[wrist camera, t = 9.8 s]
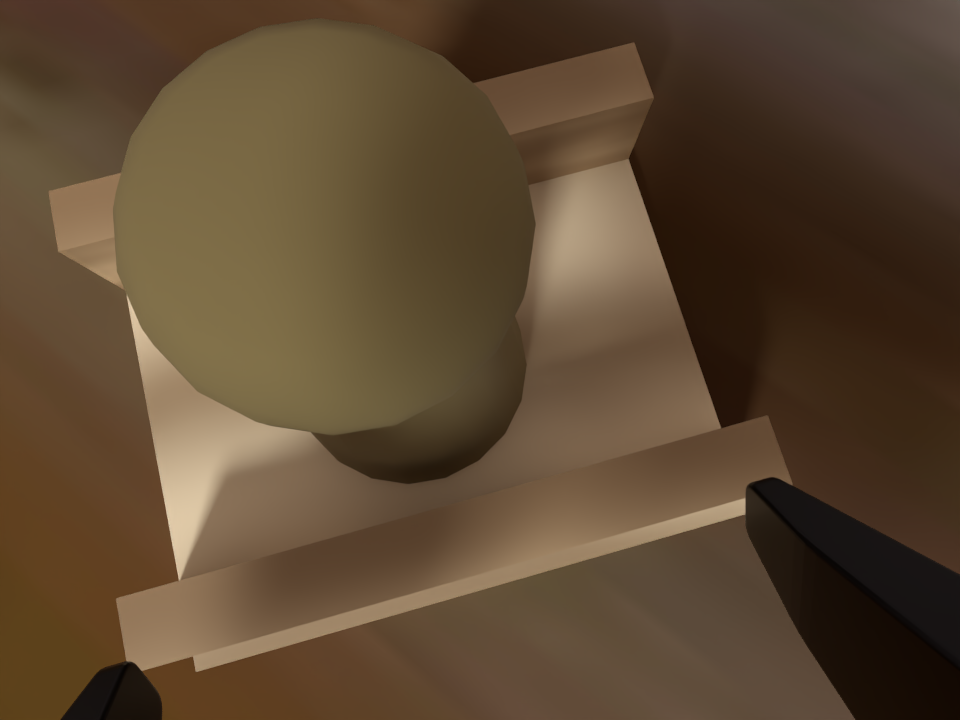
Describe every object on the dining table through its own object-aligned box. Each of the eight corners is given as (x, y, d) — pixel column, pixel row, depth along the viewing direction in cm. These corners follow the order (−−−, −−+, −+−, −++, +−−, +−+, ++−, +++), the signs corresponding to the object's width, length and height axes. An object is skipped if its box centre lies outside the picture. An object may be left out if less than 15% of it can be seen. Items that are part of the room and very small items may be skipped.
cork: (339, 227, 19) (146, -130, 8) (554, 292, 19) (649, 5, 8) (259, 442, 18) (-87, 355, 7) (486, 515, 17) (486, 542, 7)
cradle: (738, 512, 18) (803, 515, 14) (208, 664, 18) (133, 708, 14) (600, 106, 20) (625, 18, 17) (127, 228, 20) (44, 166, 16)
